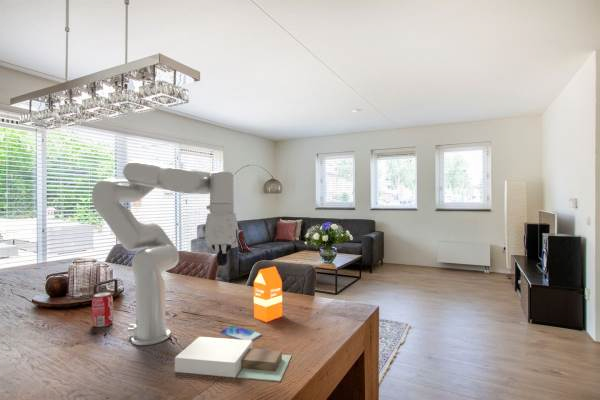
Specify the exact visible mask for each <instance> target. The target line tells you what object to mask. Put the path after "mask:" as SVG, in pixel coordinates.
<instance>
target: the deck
mask: <svg viewBox="0 0 600 400" xmlns="http://www.w3.org/2000/svg"><path fill="white" fill-rule="evenodd" d="M250 348H253V341H252V340H240V339H235V338H226V337H225V338H224V337H212V336H210V337H209V336H198V337H196V339H195V340H193V342H191V343H190V344H189V345H187V347H185V348H184V349H183V350H182V351H181V352H180V353H179V354H177V355H176V356H175V357H174V372H175V373H184V374H194V375H195V374H196V375H204V376H205V375H207V376H214V377H215V376H216V377H225V378H226V377H227V378H237V376H238V375H239V373H240V372H241V370H242V369H243V368H241V359H242V358H243V357H244V355H245V354H246V353H247V351H248V350H249V349H250Z"/></svg>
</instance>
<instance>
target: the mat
mask: <svg viewBox="0 0 600 400" xmlns="http://www.w3.org/2000/svg"><path fill="white" fill-rule="evenodd" d="M291 358H292V354H282V360H281V362H280V364H279V366H278V368H277V369H276V371H264V370H254V369H243V368H242V369H241V370H240V372H239V373H238V374H237V376H236V378H237V379H238V378H239V379H246V380H247V379H248V380H257V381H258V380H259V381H268V382H281V380H282V378H283V376H284V374H285V372H286V369H287V367H288V365H289V363H290V360H291Z"/></svg>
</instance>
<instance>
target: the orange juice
mask: <svg viewBox="0 0 600 400" xmlns="http://www.w3.org/2000/svg"><path fill="white" fill-rule="evenodd" d="M253 315H254V316H253V317H254V318H255V319H257V320H259V321H262V322H265V323H268V322H270V321H273V320H275V319H279V318H280V317H282V316H283V281H282V278H281V276H280V274H279V271H278V270H277V268H276V266H271V267H267V268H262V269H259V270H258V273H257V275H256V277H255V279H254V280H253Z"/></svg>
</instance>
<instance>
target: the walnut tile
mask: <svg viewBox="0 0 600 400" xmlns="http://www.w3.org/2000/svg"><path fill="white" fill-rule="evenodd" d="M282 352H283V351H282V350H277V349H276V350H274V349H264V348H263V349H262V348H253V347H252V348H250V349H249V350H248V351H247V353H246V354H245V355H244V357H243V358H242V359H241V368H242V369H254V370H264V371H276V369H277V368H278V366H279V364H280V362H281V360H282V355H283V353H282Z"/></svg>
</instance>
